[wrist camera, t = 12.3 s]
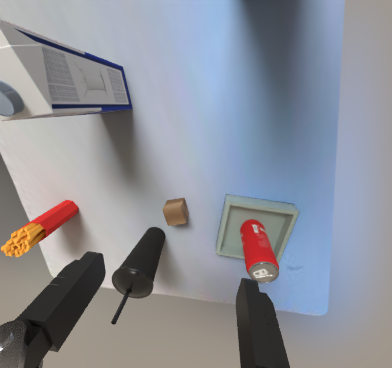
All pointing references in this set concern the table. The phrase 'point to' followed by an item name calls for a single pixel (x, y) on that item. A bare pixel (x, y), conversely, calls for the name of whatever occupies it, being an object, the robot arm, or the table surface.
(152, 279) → the drinking cup
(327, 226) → the table surface
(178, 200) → the walnut block
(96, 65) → the milk carton
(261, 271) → the beverage can
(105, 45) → the table surface
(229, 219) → the tray
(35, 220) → the french fries
